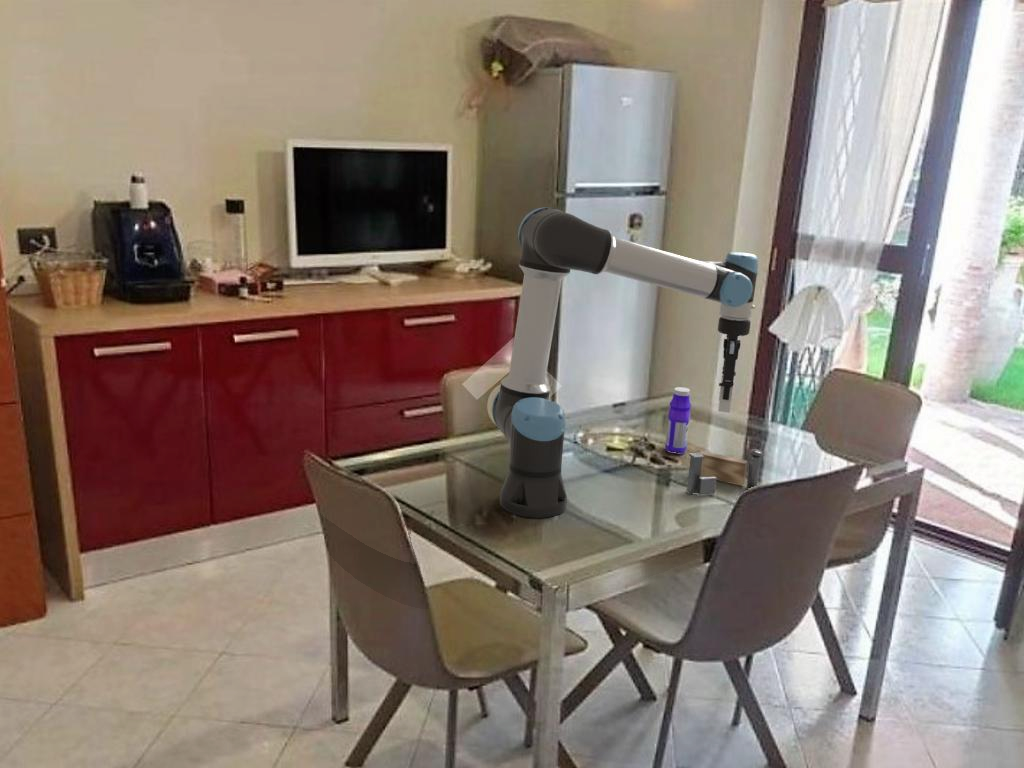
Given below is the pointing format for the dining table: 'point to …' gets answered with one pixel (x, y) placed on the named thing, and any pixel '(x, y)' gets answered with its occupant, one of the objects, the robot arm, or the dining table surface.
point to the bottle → (678, 421)
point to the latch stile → (695, 481)
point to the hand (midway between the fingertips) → (724, 406)
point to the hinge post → (754, 467)
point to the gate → (723, 468)
